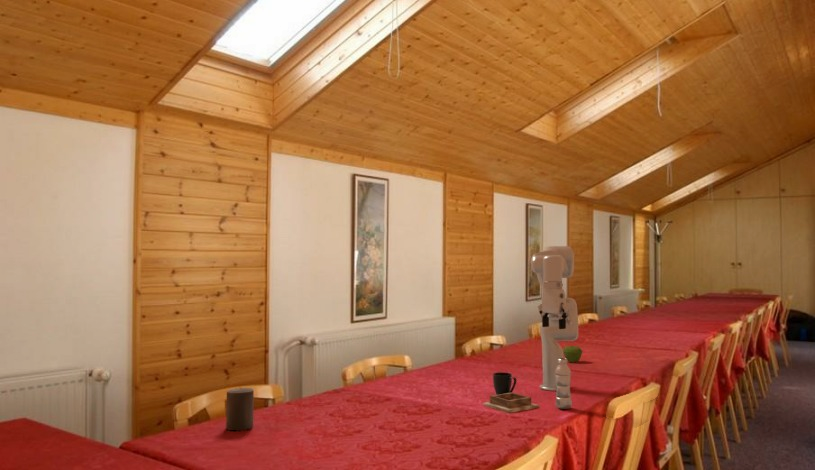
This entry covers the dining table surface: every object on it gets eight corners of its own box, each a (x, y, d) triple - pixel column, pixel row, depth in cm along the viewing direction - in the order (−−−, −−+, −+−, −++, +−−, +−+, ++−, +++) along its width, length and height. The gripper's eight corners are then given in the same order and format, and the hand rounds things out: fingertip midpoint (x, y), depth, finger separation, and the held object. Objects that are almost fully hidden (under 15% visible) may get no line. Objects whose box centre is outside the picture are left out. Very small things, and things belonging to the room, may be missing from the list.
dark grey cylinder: (239, 432, 221) (239, 390, 222) (220, 429, 226) (220, 387, 227) (259, 426, 229) (259, 385, 230) (240, 423, 234) (241, 383, 235)
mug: (508, 399, 267) (508, 377, 268) (489, 395, 277) (489, 373, 277) (522, 397, 272) (521, 375, 272) (502, 392, 282) (502, 371, 282)
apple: (564, 363, 358) (563, 346, 358) (562, 360, 368) (562, 343, 369) (583, 363, 356) (582, 346, 356) (581, 360, 366) (580, 343, 367)
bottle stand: (512, 400, 266) (512, 390, 266) (538, 407, 252) (538, 397, 253) (483, 405, 258) (483, 395, 258) (508, 413, 244) (508, 402, 244)
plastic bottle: (572, 407, 252) (571, 357, 253) (571, 411, 246) (570, 360, 247) (556, 406, 254) (555, 357, 255) (554, 410, 248) (553, 359, 249)
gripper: (575, 286, 248) (576, 329, 247) (545, 285, 263) (546, 325, 262) (561, 286, 244) (562, 330, 243) (531, 285, 259) (532, 326, 258)
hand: (553, 327), depth 253 cm, fingers open, 9 cm apart
